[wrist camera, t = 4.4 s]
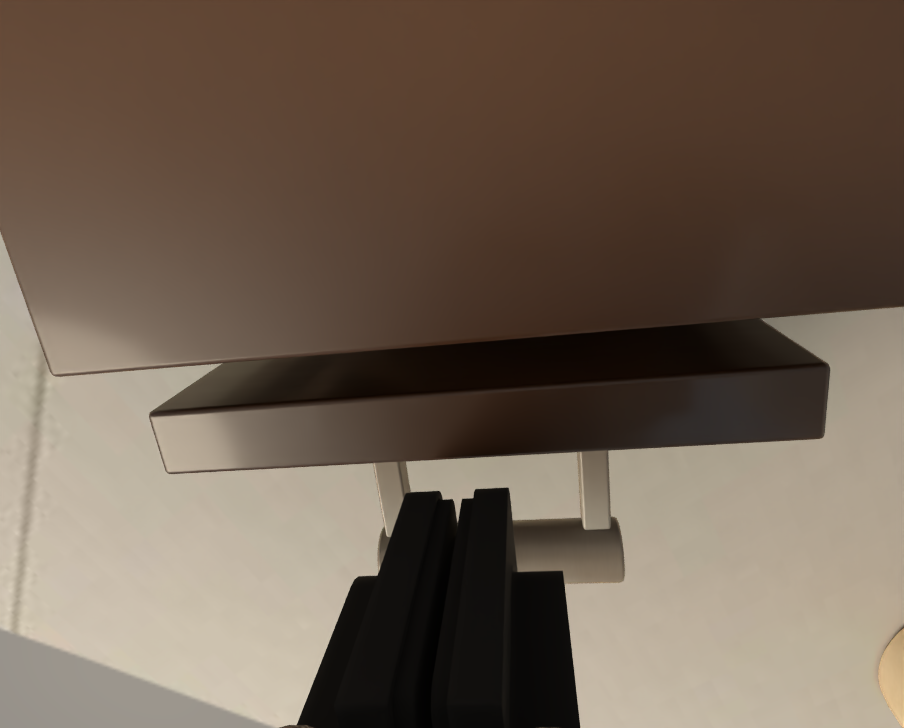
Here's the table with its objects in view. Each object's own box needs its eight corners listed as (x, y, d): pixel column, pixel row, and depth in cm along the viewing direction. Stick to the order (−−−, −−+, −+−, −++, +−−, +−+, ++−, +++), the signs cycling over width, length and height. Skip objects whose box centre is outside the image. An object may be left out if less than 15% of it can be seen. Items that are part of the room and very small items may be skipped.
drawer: (693, 481, 16) (805, 687, 10) (334, 497, 18) (229, 685, 12) (703, -391, 11) (977, -1224, 4) (176, -258, 12) (-206, -723, 6)
